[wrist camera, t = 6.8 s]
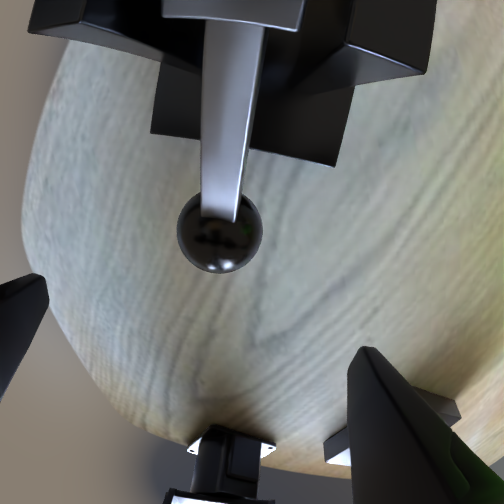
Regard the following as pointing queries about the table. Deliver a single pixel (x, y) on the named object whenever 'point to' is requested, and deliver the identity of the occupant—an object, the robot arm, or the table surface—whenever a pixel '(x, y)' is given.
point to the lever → (228, 125)
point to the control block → (339, 443)
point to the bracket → (274, 67)
